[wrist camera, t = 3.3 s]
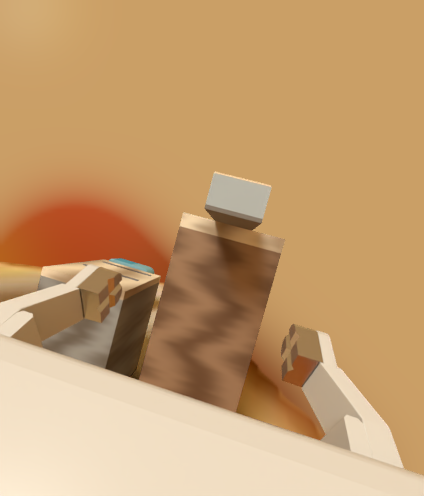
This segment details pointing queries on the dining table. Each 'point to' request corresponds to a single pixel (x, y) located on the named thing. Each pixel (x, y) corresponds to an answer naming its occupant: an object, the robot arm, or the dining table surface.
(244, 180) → the sanding stick
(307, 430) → the dining table surface
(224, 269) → the tall stand
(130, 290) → the grey marbled block
